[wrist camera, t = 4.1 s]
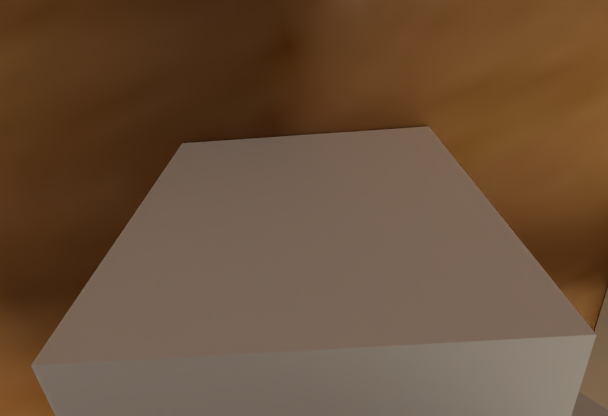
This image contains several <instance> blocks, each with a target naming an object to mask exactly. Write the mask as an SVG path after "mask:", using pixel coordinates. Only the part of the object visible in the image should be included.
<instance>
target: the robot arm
mask: <svg viewBox="0 0 608 416" xmlns="http://www.w3.org/2000/svg"><path fill="white" fill-rule="evenodd" d="M571 416H608V410H607V409H606V408H604V407H602V406H601V405H599V404H598V403H596V402H595V401H593V400H592V399H590V398H588V397H587V396H585V395H584V394H582V393H581V392H579V393H578V396H577V399H576V402H575V405H574V409H573V412H572V415H571Z"/></svg>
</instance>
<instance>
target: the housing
mask: <svg viewBox="0 0 608 416" xmlns="http://www.w3.org/2000/svg"><path fill="white" fill-rule="evenodd" d="M595 338H596V333H595V332H594V331H593V330H592V328H591V327H590V326H589V325H588V323H587V322H586V321H585V320H584V318H583V317H582V316H581V315H580V313H579V312H578V311H577V310H576V308H575V307H574V306H573V305H572V303H571V302H570V301H569V300H568V298H567V297H566V296H565V295H564V294H563V292H562V291H561V290H560V289H559V287H558V286H557V285H556V284H555V282H554V281H553V280H552V279H551V277H550V276H549V275H548V274H547V272H546V271H545V270H544V269H543V267H542V266H541V265H540V264H539V262H538V261H537V260H536V259H535V258H534V256H533V255H532V254H531V253H530V251H529V250H528V249H527V248H526V246H525V245H524V244H523V243H522V241H521V240H520V239H519V238H518V236H517V235H516V234H515V233H514V231H513V230H512V229H511V228H510V226H509V225H508V224H507V223H506V221H505V220H504V219H503V218H502V217H501V215H500V214H499V213H498V212H497V210H496V209H495V208H494V207H493V205H492V204H491V203H490V202H489V200H488V199H487V198H486V197H485V195H484V194H483V193H482V192H481V190H480V189H479V188H478V187H477V185H476V184H475V183H474V182H473V181H472V179H471V178H470V177H469V176H468V174H467V173H466V172H465V171H464V169H463V168H462V167H461V166H460V164H459V163H458V162H457V161H456V159H455V158H454V157H453V156H452V154H451V153H450V152H449V151H448V149H447V148H446V147H445V146H444V145H443V143H442V142H441V141H440V140H439V138H438V137H437V136H436V135H435V133H434V132H433V131H432V130H431V128H430V127H429V126H427V127H412V128H398V129H383V130H368V131H354V132H339V133H325V134H310V135H295V136H281V137H266V138H251V139H237V140H222V141H208V142H193V143H182V144H181V146H180V147H179V149H178V150H177V152H176V153H175V155H174V156H173V157H172V159H171V160H170V162H169V163H168V165H167V166H166V168H165V169H164V171H163V172H162V174H161V175H160V177H159V178H158V180H157V181H156V182H155V184H154V185H153V187H152V188H151V190H150V191H149V193H148V194H147V196H146V197H145V199H144V200H143V202H142V203H141V204H140V206H139V207H138V209H137V210H136V212H135V213H134V215H133V216H132V218H131V219H130V221H129V222H128V224H127V225H126V226H125V228H124V229H123V231H122V232H121V234H120V235H119V237H118V238H117V240H116V241H115V243H114V244H113V246H112V247H111V249H110V250H109V251H108V253H107V254H106V256H105V257H104V259H103V260H102V262H101V263H100V265H99V266H98V268H97V269H96V271H95V272H94V273H93V275H92V276H91V278H90V279H89V281H88V282H87V284H86V285H85V287H84V288H83V290H82V291H81V293H80V294H79V295H78V297H77V298H76V300H75V301H74V303H73V304H72V306H71V307H70V309H69V310H68V312H67V313H66V315H65V316H64V318H63V319H62V320H61V322H60V323H59V325H58V326H57V328H56V329H55V331H54V332H53V334H52V335H51V337H50V338H49V340H48V341H47V342H46V344H45V345H44V347H43V348H42V350H41V351H40V353H39V354H38V356H37V357H36V359H35V360H34V362H33V363H32V364H31V367H32V369H33V371H34V373H35V375H36V377H37V380H38V382H39V384H40V386H41V388H42V390H43V392H44V394H45V396H46V398H47V400H48V402H49V404H50V406H51V408H52V410H53V412H54V414H55V416H571V415H572V412H573V409H574V405H575V402H576V399H577V396H578V393H579V389H580V386H581V383H582V380H583V377H584V373H585V370H586V367H587V364H588V360H589V357H590V354H591V351H592V348H593V344H594V341H595Z"/></svg>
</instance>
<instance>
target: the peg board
mask: <svg viewBox="0 0 608 416" xmlns="http://www.w3.org/2000/svg"><path fill="white" fill-rule="evenodd" d="M594 332H595V333H596V338H595V341H594V344H593V348H592V351H591V354H590V357H589V360H588V364H587V367H586V370H585V373H584V377H583V380H582V383H581V386H580V389H579V392H581V393H582V394H584V395H585V396H587V397H588V398H590V399H592V400H593V401H595V402H596V403H598V404H599V405H601V406H602V407H604V408H606V409H607V410H608V289H607V292H606V295H605V298H604V302H603V305H602V308H601V311H600V315H599V318H598V321H597V324H596V328H595V331H594Z"/></svg>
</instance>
